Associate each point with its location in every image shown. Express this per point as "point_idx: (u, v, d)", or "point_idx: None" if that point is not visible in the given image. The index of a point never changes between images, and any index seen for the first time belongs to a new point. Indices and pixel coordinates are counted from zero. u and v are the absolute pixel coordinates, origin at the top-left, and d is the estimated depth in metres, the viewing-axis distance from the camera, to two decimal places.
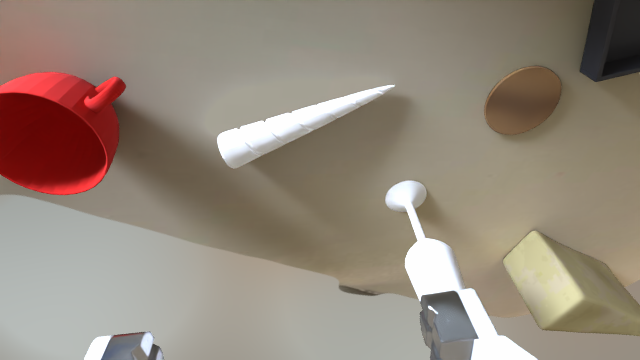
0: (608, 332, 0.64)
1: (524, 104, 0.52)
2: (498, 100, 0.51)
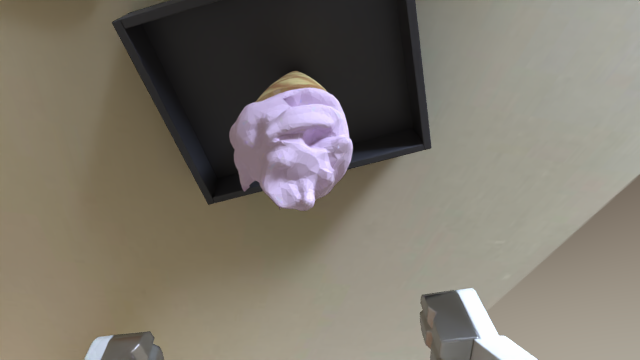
0: None
1: None
2: None
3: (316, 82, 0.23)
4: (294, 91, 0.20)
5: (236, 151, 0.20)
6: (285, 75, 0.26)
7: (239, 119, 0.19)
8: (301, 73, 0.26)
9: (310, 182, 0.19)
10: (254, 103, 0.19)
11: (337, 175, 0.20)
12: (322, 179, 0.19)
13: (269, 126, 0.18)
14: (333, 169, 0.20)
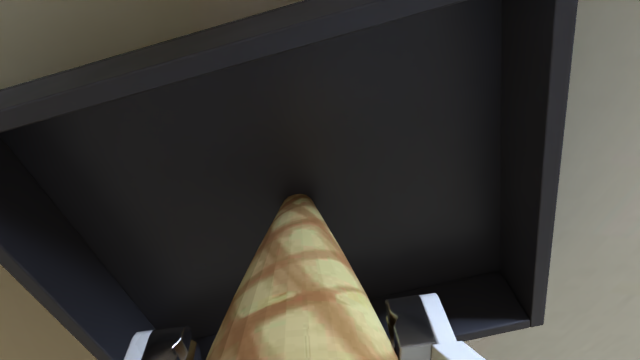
0: None
1: None
2: None
3: (354, 312, 0.09)
4: None
5: None
6: (279, 245, 0.12)
7: None
8: (313, 238, 0.12)
9: None
10: None
11: None
12: None
13: None
14: None
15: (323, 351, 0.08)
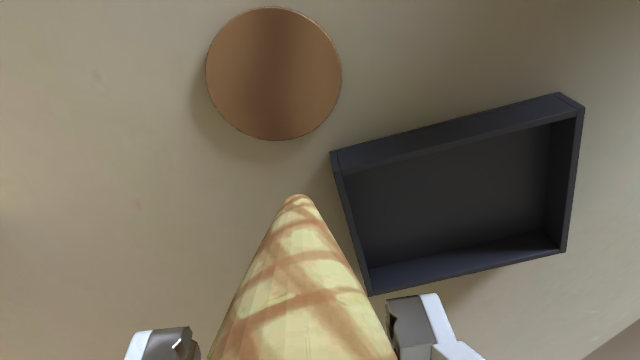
0: None
1: (272, 83, 0.29)
2: (278, 29, 0.27)
3: (354, 312, 0.09)
4: None
5: None
6: (278, 246, 0.12)
7: None
8: (313, 239, 0.12)
9: None
10: None
11: None
12: None
13: None
14: None
15: (323, 352, 0.08)
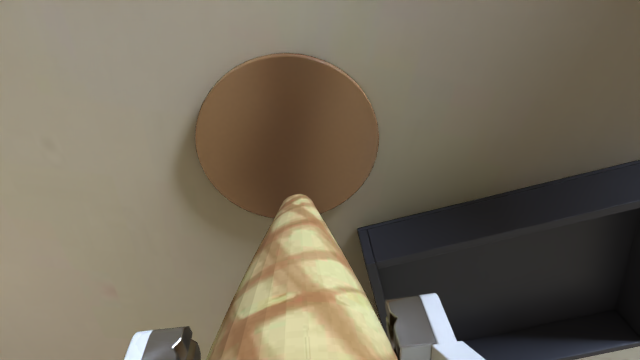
0: None
1: (286, 151, 0.21)
2: (295, 83, 0.19)
3: (353, 312, 0.09)
4: None
5: None
6: (278, 246, 0.12)
7: None
8: (312, 239, 0.12)
9: None
10: None
11: None
12: None
13: None
14: None
15: (323, 352, 0.08)
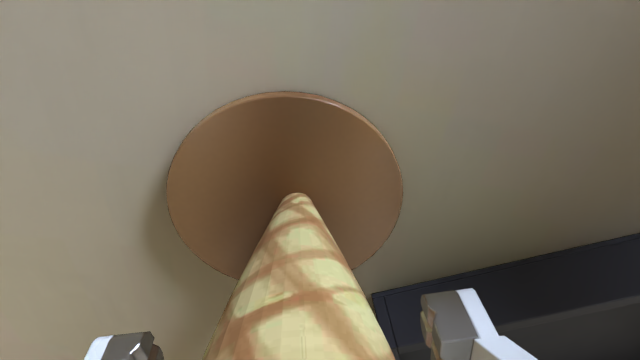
0: None
1: None
2: (296, 130, 0.15)
3: (351, 312, 0.09)
4: None
5: None
6: (276, 244, 0.12)
7: None
8: (310, 238, 0.12)
9: None
10: None
11: None
12: None
13: None
14: None
15: (319, 352, 0.08)
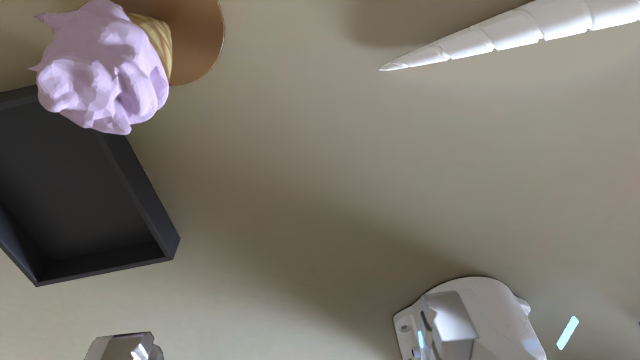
0: None
1: None
2: (206, 33, 0.31)
3: None
4: (163, 74, 0.22)
5: (89, 16, 0.19)
6: (168, 34, 0.27)
7: (128, 24, 0.19)
8: None
9: (76, 104, 0.19)
10: (147, 39, 0.20)
11: None
12: (82, 117, 0.19)
13: (130, 64, 0.19)
14: (93, 120, 0.20)
15: (170, 69, 0.24)
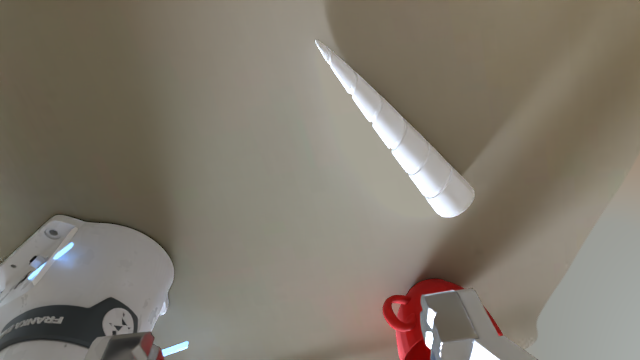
0: None
1: None
2: None
3: None
4: None
5: None
6: None
7: None
8: None
9: None
10: None
11: None
12: None
13: None
14: None
15: None
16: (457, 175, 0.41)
